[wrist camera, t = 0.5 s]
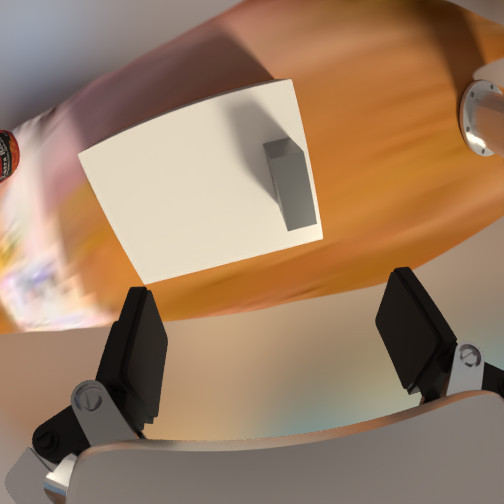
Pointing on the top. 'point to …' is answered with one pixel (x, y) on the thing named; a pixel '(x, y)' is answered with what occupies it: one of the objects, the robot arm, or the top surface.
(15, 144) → the canned food
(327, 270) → the top surface
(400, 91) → the top surface
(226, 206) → the sliding lid
